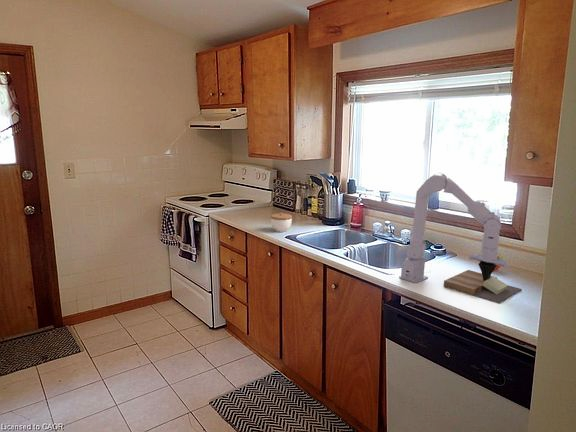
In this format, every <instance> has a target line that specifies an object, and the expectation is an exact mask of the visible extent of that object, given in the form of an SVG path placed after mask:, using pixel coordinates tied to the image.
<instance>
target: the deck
mask: <svg viewBox="0 0 576 432" xmlns="http://www.w3.org/2000/svg"><path fill="white" fill-rule="evenodd" d="M492 277H495V278H497V279H498V277H497V276H493V275H491V276H490V278H492ZM490 278H489V279H490ZM483 283H484V281H483V276H482V272H478V271H474V270H471V269H467V270H465V271H463V272H460V273H458V274H456V275H454V276H452V277H449V278H447V279H445V280H443V288H447V289H450V290H453V291H456V292H461V293H463V294H466V295H470V296H473V295H474V294H475V293H477V292H479V291H481V290H483V289H485V288H486V287H484V286H482V285H483Z"/></svg>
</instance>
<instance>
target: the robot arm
mask: <svg viewBox="0 0 576 432" xmlns="http://www.w3.org/2000/svg"><path fill="white" fill-rule="evenodd" d="M442 191H443V193H446V194H451V195H452V196H453V197H455V198H456V199H458V201H460V202H461V203H462V204H463V205H465V206H466V208H467V213H468V214H469V215H470V216H471V217H473V218H474V219H475V220H476V221H477V222H478V223H479V224H482V225H483V228H484V230H483V234H482V239H481V246H480V247H481V249H480V250H481V251H480V254H477V253H469V254H468V260H473V261H478V262H479V263H478V266H479V270H480V271H481V272H480V273H482V276H483V281H486V280H488V279H489V278H490V276H492V273H493V272H494V271H493V270H494V269H495V267H496V266H497V265H498V266H500V267H502V268H505V269H508V268H509V267H510V261H506V260H504V259H503V260H502V259H501V258H500V259H498V258H497V256H498V252H499V244H500V243H499V242H500V236H499V235H500V230H501V229H502V222H501V219H500V217H499V216H498V215H497V214H496V213H495V212H493V211H491V210H490V209H489V208H487V207H486V204H485V203H484V202H481V201H479V200H474V199H473V198H471V197H470V196H469V195H468V194H467V193H466V192H465V191H464V190H463V189H462V187H460V186H459V185H458V184H457V183H456V182H455V181H454V180H452V179H451V178H450V177H447V175H446V174H444V173H441V172H438V173H435V174H433V175H432V176H430V177H429V178H427V179H425V181H424V182H423V183H422V185H420V187H419V188H418V189H417V191H416V193H415V194H416V196H415V203H414V204H415V205H414V214H413V221H412V222H413V223H412V232H411V233H412V234H411V238H410V243H409V245H408V246H407V249H406V252H407V255H406V258H405V260H403V261H402V263H401V274H400V276H399V277H398V278H399V279H402V280H405V281H408V282H412V283H414V284H415V283H418V282H421V281H423V280H426V279H428V278H429V276H427V275H425V267H426V265H425V264H426V255H425V251H426V249H427V244H426V241H425V239H426V236H425V235H426V234H425V232H426V224H427V216H428V215H427V214H428V206H429V198H430V196H432V195H433V194H435V193H439V192H442Z"/></svg>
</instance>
